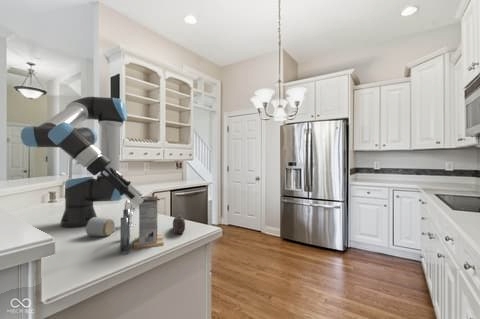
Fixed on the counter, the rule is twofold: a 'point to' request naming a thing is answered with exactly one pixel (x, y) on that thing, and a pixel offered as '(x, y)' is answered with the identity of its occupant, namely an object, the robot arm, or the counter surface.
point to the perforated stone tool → (178, 224)
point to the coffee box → (148, 220)
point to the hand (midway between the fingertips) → (140, 200)
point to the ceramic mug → (100, 226)
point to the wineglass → (131, 210)
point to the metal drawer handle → (125, 232)
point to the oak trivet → (159, 242)
